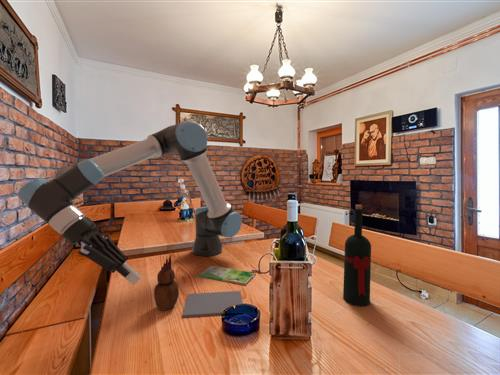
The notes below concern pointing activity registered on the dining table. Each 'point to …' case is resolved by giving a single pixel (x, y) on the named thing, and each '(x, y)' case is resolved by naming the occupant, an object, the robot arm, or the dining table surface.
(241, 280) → the green number grid board
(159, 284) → the wooden figurine
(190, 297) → the charcoal rubber mat
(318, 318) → the dining table surface
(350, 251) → the wine bottle
